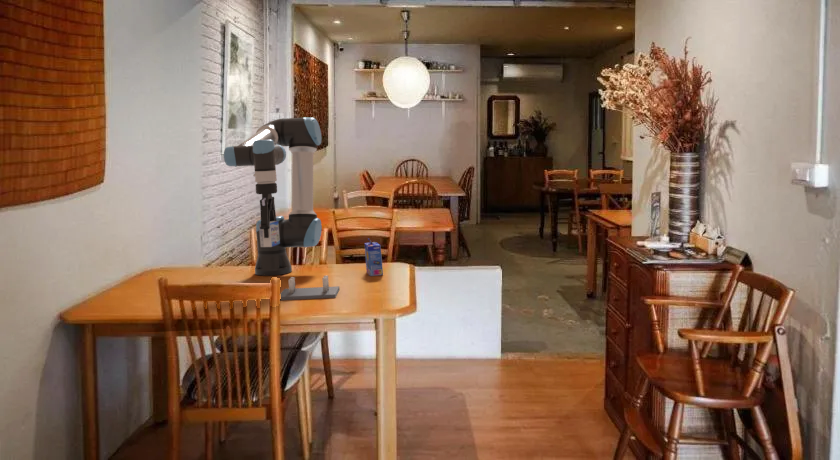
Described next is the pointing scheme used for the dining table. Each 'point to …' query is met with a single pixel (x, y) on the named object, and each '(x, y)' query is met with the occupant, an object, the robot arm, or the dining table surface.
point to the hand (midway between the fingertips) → (270, 244)
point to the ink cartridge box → (373, 258)
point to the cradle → (309, 291)
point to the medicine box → (274, 234)
